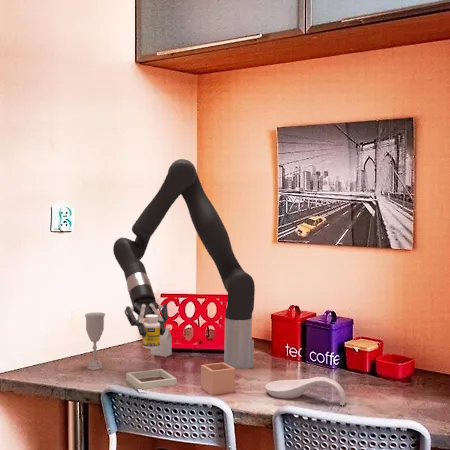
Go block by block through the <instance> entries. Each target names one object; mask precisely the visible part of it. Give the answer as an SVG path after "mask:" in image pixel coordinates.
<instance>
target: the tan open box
mask: <svg viewBox="0 0 450 450" xmlns="http://www.w3.org/2000/svg"><path fill="white" fill-rule="evenodd" d="M201 389H202V390H203V391H205V393H208V394H209V395H211V396H217V395H224V394H229V393H235V392H236V368H233V367H231V366H229V365H227V364H226V363H224V361H222V362H216V363H206V364H201V365H200V390H201Z"/></svg>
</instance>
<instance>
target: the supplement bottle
mask: <svg viewBox="0 0 450 450" xmlns="http://www.w3.org/2000/svg"><path fill="white" fill-rule="evenodd" d="M144 319H145V321H143V322H142V323H143V324H144V327H145V330H146V335H145V337H142V336H141V337H142V340H141V341H142V343H141V345H142V348H144V349H147V350H148V349H150V350H151V349H154V348H158V347H159V346H160V323H159V322H157V321H158V315H146V316H145V318H144Z"/></svg>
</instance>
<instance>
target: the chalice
mask: <svg viewBox="0 0 450 450" xmlns="http://www.w3.org/2000/svg"><path fill="white" fill-rule="evenodd" d="M105 316H106V314H105V313H104V312H88V313H84V317H85V331H86V333H87V335H88V338H89V341H90V342H92V343H93V346H92V349H93V351H92V355H93V358H92V359H91V360H90V361H89V362H88V363H87V364H88V365H87V367H86V368H87V369H88V370H101V369H102V368H103V366H102V363H101V361H100V360H99V359H98V358H97V355H98V352H97V349H98V347H97V343H98V342H99V341H100V339H101V337H102V335H103V332H104V328H105V327H104V326H105V325H104V324H105ZM100 368H101V369H100Z"/></svg>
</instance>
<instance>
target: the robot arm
mask: <svg viewBox="0 0 450 450" xmlns="http://www.w3.org/2000/svg"><path fill="white" fill-rule="evenodd" d="M180 195H181V196H182V198H183V200H184V202H185V204H186V207H187V210H188V213H189V216H190V219H191V222H192V225H193V227H194V229H195V231H196V234H197V236H198V237H199V240H200V242H201V243H202V245H203V247H204V248H205V250H206V252H207V253H208V255H209V256H210V259H212V261H213V262H214V264H215V267H216V269H217V271H218V273H219V276H220V278H221V281H222V284H223V286H224V287H223V288H224V289H225V291H226V292H227V299H226V302H227V303H226V308H225V310H224V345H223V346H224V347H223V351H224V353H223V355H224V356H223V362H224V363H226V364H227V365H229V366H231V367H233V368H235V370H237V369H248V370H251V369H254V359H255V358H254V356H255V354H254V352H255V350H254V349H255V341H254V339H252V336H253V333H252V332H253V331H252V330H253V327H252V326H253V312H254V308H255V293H256V292H255V291H256V289H255V280H254V279H253V277H252V276H251V274H249V273H248V272H246V271H245V270H244V269H243V268H242V266H241V264H240V262H239V260H238V259H237V258H236V255H235V253H234V251H233V247H232V244H231V240H230V236H229V233H228V230H227V229H226V227H225V225H224V223H223V220H222V219H221V217H220V215H219V213H218V211H217V210H216V208H215V207H214V205H213V203H212V201H210V199H209V198H208V196H207V194H206V191H205V190H204V188H203V185H202V183H201V180H200V177H199V176H198V173H197V168H196V166H195V165H194V164H193V163H192V162H191V161H190V160H188V159H183V158H181V159H177V160H174V161H173V162H172V163H171V165H170V166H169V167H168V171H167V175H166V176H165V178H164V180H163V182H162V184H161V187H159V189H158V191H157V193H156V194H155V195H154V197H152V199H151V201H150V202H149V203H148V204H147V206H145V208H144V209H143V211H142V212H141V213H140V214H139V217H137V219H136V220H135V222H134V223H133V225H132V227H131V231H132V233H133V234H134V235H135V239H134V240H132V239H130V238H128V237H119V238H117V239H116V240H115V242H114V243H113V247H112V249H113V250H112V252H113V256H114V258H115V260H116V261H117V264H118V265H119V267H120V269H121V270H122V271H123V273H124V278H125V281H126V287H127V292H128V295H129V298H130V303H131V305H132V306H126V307H125V310H124V314H125V316H126V318H127V321H128V323H129V324H130V326H131V327H134V326H135V327H136V328H137V331H138V333H139V335H140V336H141V337H145V335H146V330H145V327H144V324H143V323H144V319H145V316H146V315H158V321H157V322H159V323H160V335H163V334H164V333H165V330H166V329H165V328H166V327H165V324H166V323H167V321H168V319H169V313H168V312H169V311H168V304H166V303H163V304H159V303H158V302H157V301H156V296H155V293H154V289H153V287H152V283H151V281H150V278H149V276H148V274H147V270H146V267H145V264H144V263H143V262H142V261H141V260H142V259H143V257H144V256H145V253H146V251H147V247H148V245H149V242H150V240H151V238H152V236H153V234H154V233H155V232H156V230H157V229H158V227H159V226H160V225H161V223H162V222H163V220H164V218H166V217H165V216H166V215H167V213H168V212H169V210H170V208H171V207H172V206H173V204H174V203H175V202H176V200H177V199H178V198H179V197H180ZM158 310H159V311H158ZM134 313H135V314H136V315H137V318H136V316H135V315H134ZM160 313H161V314H160Z"/></svg>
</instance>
